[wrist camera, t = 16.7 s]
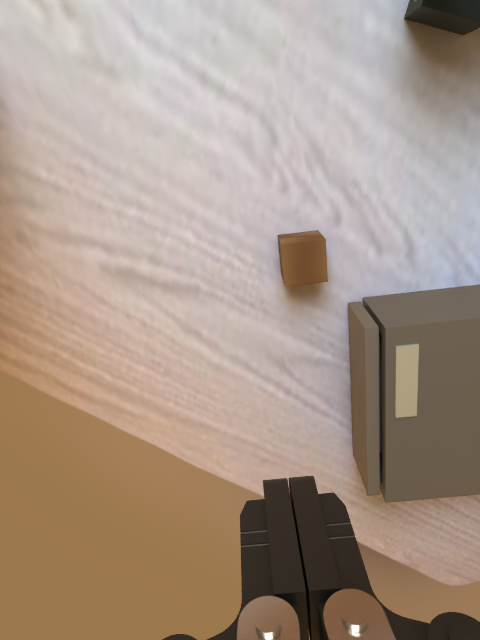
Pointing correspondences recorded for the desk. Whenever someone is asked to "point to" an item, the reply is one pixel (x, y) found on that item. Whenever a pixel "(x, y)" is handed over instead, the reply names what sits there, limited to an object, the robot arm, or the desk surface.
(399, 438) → the housing
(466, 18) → the watch
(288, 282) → the brown block
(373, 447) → the tray
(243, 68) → the desk surface
